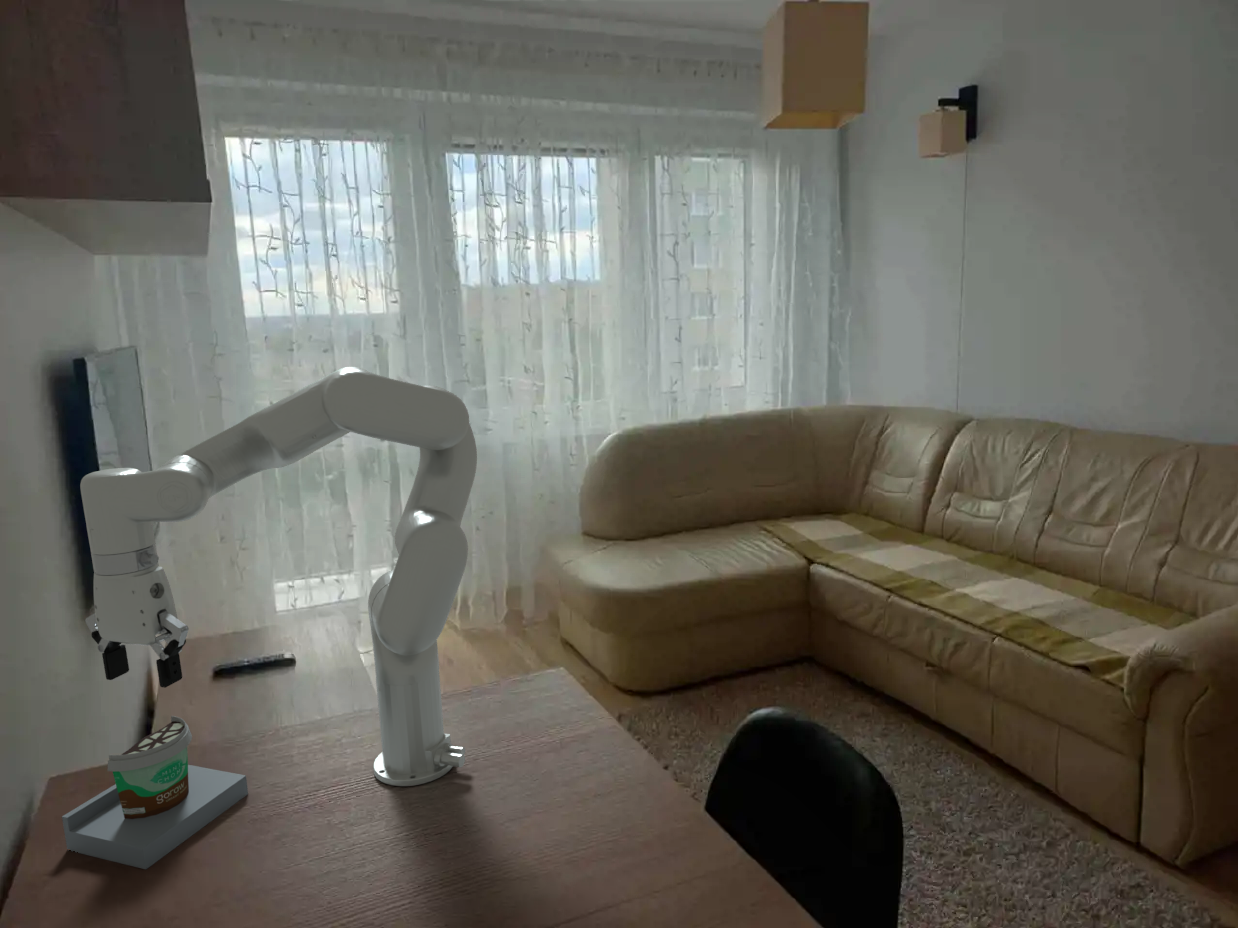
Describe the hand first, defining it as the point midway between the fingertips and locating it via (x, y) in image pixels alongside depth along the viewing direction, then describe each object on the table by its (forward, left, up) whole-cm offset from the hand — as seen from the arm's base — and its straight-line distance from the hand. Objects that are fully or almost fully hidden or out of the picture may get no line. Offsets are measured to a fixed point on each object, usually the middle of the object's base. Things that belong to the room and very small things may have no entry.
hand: (144, 679), depth 115 cm
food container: (-1, 0, -19) cm, 19 cm away
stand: (0, 0, -21) cm, 21 cm away
